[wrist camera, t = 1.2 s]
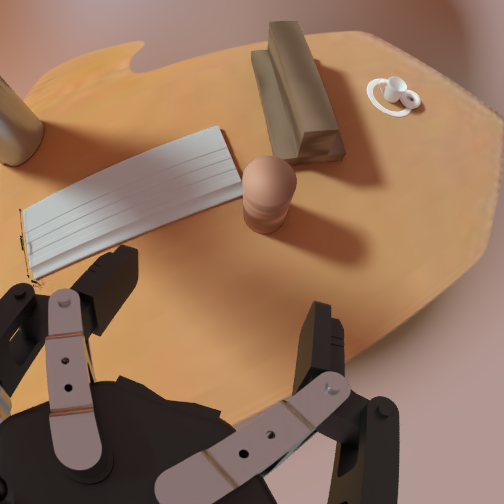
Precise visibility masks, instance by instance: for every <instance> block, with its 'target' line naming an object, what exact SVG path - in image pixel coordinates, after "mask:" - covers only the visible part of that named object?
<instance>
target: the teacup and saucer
mask: <svg viewBox="0 0 504 504" xmlns="http://www.w3.org/2000/svg"><path fill="white" fill-rule="evenodd" d="M380 83H386V86H385V89H384V92H383V91H382V90H381V88H380ZM377 84H379V89H380V91H381V92H382V94H383V95H384V98H385V99H386V100H387V101H388V102H391V103H394V102H396V101H398V100H399V99H400V101H401V103H402V104H403V105H404V106H406V108H405V109H404V110H403V111H400V112H394V111H390V110H388V109H386V108H384V107H382V106H381V105H380V104H379V103H378V102H377V101H376V99H375V98H374V95H373V88H374V87H375V85H377ZM367 94H368V97H369V99H370V100H371V102H372V103H373V104H374V105H375V106H376V107H377V108H378V109H379V110H381V111H382V112H384V113H386V114H388V115H391V116H395V117H403V116H406V115H408V114H409V113H410V112H411V110H412V109H414V108H417V107H419V106H420V103H421V100H420V97H419V96H418V95H417V94H416V93H415V92H413V91H411V90H407V85H406V83H405V82H404V81H403V80H402V79H400V78H398V77H395V76H392V77H390V78H389V79H388V80H387V79H375V80H372V81H371V82H370V83H369V84H368V86H367ZM410 97H411V98H412V99H413V101H411V98H410Z"/></svg>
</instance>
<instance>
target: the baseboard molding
mask: <svg viewBox="0 0 504 504" xmlns="http://www.w3.org/2000/svg"><path fill="white" fill-rule="evenodd" d="M241 196H243V186H242V181H241V179H240V177H239V174H238V172H237V170H236V167H235V165H234V162H233V160H232V157H231V155H230V153H229V150H228V148H227V145H226V143H225V141H224V138H223V136H222V133H221V131H220V129H219V126H218V125H217V126H214V127H211V128H208V129H205V130H202V131H199V132H196V133H193V134H190V135H188V136H185V137H182V138H179V139H177V140H174V141H171V142H169V143H166V144H163V145H161V146H158V147H155V148H153V149H150V150H148V151H145V152H143V153H140V154H138V155H136V156H133V157H131V158H128V159H126V160H124V161H121V162H119V163H117V164H115V165H112V166H110V167H108V168H106V169H103V170H101V171H99V172H97V173H95V174H92V175H90V176H88V177H86V178H84V179H82V180H80V181H78V182H76V183H74V184H72V185H70V186H68V187H66V188H64V189H62V190H60V191H58V192H56V193H54V194H52V195H50V196H48V197H46V198H45V199H43V200H41V201H39V202H37V203H35V204H33V205H32V206H30V207H28V208H26V209H25V210H23V218H24V228H25V234H26V244H27V250H28V256H29V265H30V269H31V270H32V272H33V275H34V279H38V278H40V277H42V276H44V275H47V274H49V273H51V272H53V271H56V270H58V269H60V268H62V267H64V266H67V265H69V264H71V263H74V262H76V261H78V260H80V259H83V258H85V257H87V256H90V255H92V254H94V253H97V252H99V251H101V250H104V249H106V248H109V247H111V246H113V245H116V244H118V243H121V242H123V241H125V240H128V239H130V238H133V237H135V236H138V235H140V234H143V233H145V232H148V231H150V230H153V229H155V228H158V227H160V226H163V225H166V224H168V223H171V222H173V221H176V220H179V219H181V218H184V217H186V216H189V215H192V214H194V213H197V212H200V211H203V210H205V209H208V208H211V207H213V206H216V205H219V204H222V203H224V202H227V201H230V200H233V199H236V198H238V197H241ZM19 210H20V209H19ZM20 211H21V210H20ZM20 217H21V213H20ZM21 228H22V224H21ZM20 237H21V238H22V237H23V233H22V236H20ZM21 238H20V240H21V241H20V242H21V246H22V245H24V242H23V241H22V239H21ZM22 250H23V246H22ZM24 253H25V250H24ZM25 260H26V257H25ZM26 266H27V263H26ZM27 272H28V269H27ZM27 276H28V278H29V275H27ZM31 282H32V283H36V281H33V280H31ZM36 284H37V283H36ZM33 286H34V285H33ZM36 287H37V286H36Z"/></svg>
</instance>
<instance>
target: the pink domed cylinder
mask: <svg viewBox="0 0 504 504" xmlns="http://www.w3.org/2000/svg"><path fill="white" fill-rule="evenodd" d="M296 184H297V179H296V174H295V172H294V170H293V168H292V167H291V166H290V165H289V164H288V163H287V162H286V161H284V160H283V159H280V158H278V157H274V156H264V157H260V158H257V159H255V160H253V161H252V162H251V163H249V164H248V166H247V167H246V168H245V170H244V173H243V177H242V186H243V212H244V220H245V222H246V224H247V225H248V227H249V228H250V229H252V230H253V231H255V232H257V233H261V234H269V233H272V232H275V231H276V230H278V229H279V228H280V227H281V226H282V224H283V222H284V219H285V217H286V214H287V211H288V208H289V206H290V203H291V200H292V197H293V194H294V192H295V189H296Z"/></svg>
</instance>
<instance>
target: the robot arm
mask: <svg viewBox="0 0 504 504" xmlns="http://www.w3.org/2000/svg"><path fill="white" fill-rule="evenodd" d="M43 133H44V127H43V124H42V122H41V121H40V120H39V119H38V117H37V116H36V115H35V114H34V113H33V112H32V111H31V110H30V109H29V107H28V106H27V105H26V104H25V103H24V102H23V101H22V100H21V99H20V97H19V96H18V95H17V94H16V93H15V92H14V91H13V90H12V88H11V87H10V86H9V85H8V84H7V83H6V82H5V80H4V79H3V78H2V77H1V76H0V163H1V164H4V163H6V164H8V165H9V166H17V165H20V164H22V163H24V162H25V161H26V160H28V159H29V158H30V157H31V156H32V155H33V154H34V152H35V151H36V150H37V148H38V146H39V145H40V142H41V140H42V137H43ZM137 281H138V250H137V249H135V248H132V247H129V246H126V245H120V246H119V247H118V248H117V249H116V250H115V251H114V253H111V252H108V253H106V254H104V255H102V256H100V257H99V258H98V259H97V260H96V261H95V262H94V263H93V265H91V266H90V267H89V268H88V270H87V271H86V272H85V273H84V274H83V275H82V276H81V277H80V278H79V279H78V280H77V281H76V282H75V283H74V285H73V286H72V287H71V288H70V289H60V290H58V291H56V292H54V293H53V294H52V295H51V296H46V295H38V294H35V291H34V288H33V287H32V286H31V285H30V284H27V283H19V284H16V285H14V286H13V287H11V288H10V289H9V290H8V291H7V293H6V294H5V295H4V296H3V297H2V298H1V299H0V504H277V502H276V500H275V499H274V497H273V495H272V493H271V491H270V490H269V488H268V486H267V484H266V482H265V480H264V479H263V478H264V477H265V476H266V475H268V474H269V473H270V472H272V471H273V470H274V469H275V468H277V467H278V466H279V465H280V464H281V463H283V462H284V461H285V460H286V459H287V458H288V457H289V456H290V455H292V454H293V453H294V452H295V451H296V450H298V449H299V448H300V447H301V446H302V445H303V444H305V443H306V442H307V441H308V440H309V439H310V438H311V437H313V435H315V434H316V433H317V432H319V433H321V434H323V435H325V436H327V437H329V438H331V439H333V440H336V441H337V444H336V453H335V460H334V466H333V473H332V479H331V486H330V492H329V498H328V503H327V504H397V498H398V482H399V411H398V408H397V406H396V405H395V404H394V402H392V401H391V400H390V399H388V398H386V397H382V396H378V397H375V398H373V399H371V400H368V399H366V398H364V397H362V396H360V395H358V394H356V393H355V392H353V391H352V390H351V388H350V384H349V382H348V381H347V380H346V378H345V375H344V374H345V373H344V371H345V370H344V369H345V367H344V366H345V364H344V329H343V327H342V324H341V322H340V320H339V319H335V318H331V305H328V304H324V303H321V302H317V301H314V302H313V304H312V306H311V308H310V311H309V313H308V315H307V317H306V320H305V322H304V324H303V326H302V329H301V333H300V337H299V345H298V354H297V362H296V370H295V377H294V385H293V392H292V397H291V398H290V399H288V400H287V401H284V400H282V401H280V402H278V403H277V404H275V405H274V406H272V407H271V408H270V409H268V410H267V411H265V412H264V413H263V414H261V415H260V416H259V417H257V418H255V419H254V420H252V421H251V422H249V423H248V424H247V425H245V426H244V427H242V428H241V429H239V430H238V431H236V430H235V429H234V428H233V427H232V426H231V425H230V424H228V423H227V422H226V421H224V420H222V419H221V418H219V417H220V413H221V411H219V410H216V409H212V408H209V407H206V406H203V405H199V404H196V403H189V402H179V401H171V400H166V399H164V398H162V397H161V396H159V395H158V394H156V393H155V392H153V391H152V390H150V389H149V388H147V387H146V386H144V385H142V384H140V383H137V382H135V381H132V380H130V379H127V378H125V377H123V376H120V375H119V377H118V379H117V381H116V382H115V381H100V382H96V378H95V373H94V368H93V362H92V356H91V350H90V343H89V337H90V335H91V334H92V333H93V334H95V335H98V336H101V335H102V333H103V332H104V331H105V329H106V328H107V326H108V325H109V323H110V322H111V320H112V319H113V318H114V316H115V315H116V313H117V312H118V311H119V309H120V308H121V306H122V305H123V304H124V302H125V301H126V299H127V298H128V297H129V295H130V294H131V293H132V291H133V290H134V288H135V287H136V284H137ZM18 328H19V330H18V331H17V329H18ZM16 331H17V332H16ZM15 332H16V334H15V335H14V336H13V334H14V333H15ZM12 336H13V338H12V339H11V337H12ZM10 339H11V340H10ZM9 341H10V342H9ZM44 344H45V350H46V369H47V383H48V393H49V401H47V402H45V403H42V404H40V405H37V406H35V407H32V408H29V409H27V410H24V411H22V412H19V413H17V414H14V415H12V416H11V413H10V411H11V408H12V403H11V399H10V398H11V396H12V394H13V393H14V391H15V389H16V388H17V386H18V384H19V383H20V381H21V379H22V378H23V376H24V375H25V373H26V372H27V370H28V368H29V367H30V365H31V364H32V362H33V361H34V359H35V358H36V356H37V355H38V353H39V352H40V350H41V349H42V347H43V346H44Z"/></svg>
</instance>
